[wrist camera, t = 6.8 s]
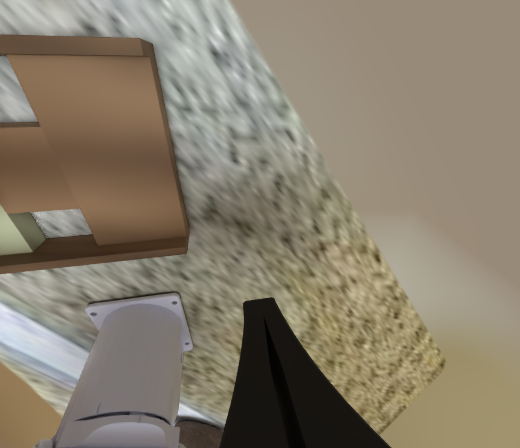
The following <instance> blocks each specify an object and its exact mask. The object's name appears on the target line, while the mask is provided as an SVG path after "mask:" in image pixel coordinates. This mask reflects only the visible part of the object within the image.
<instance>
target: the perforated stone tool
mask: <svg viewBox="0 0 520 448" xmlns="http://www.w3.org/2000/svg"><path fill="white" fill-rule="evenodd" d="M175 427H179V428H180V433H179V443H181V444H183V445H184V446H185V447H186V448H219V446H220V442H221V439H222V435H223V432H222V431H220V430H219V429H217V428H215V427H212V426H209V425H206V424H203V423H199V422H195V421H181V422H178V423H177V424H176V425H175Z"/></svg>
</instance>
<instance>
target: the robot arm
mask: <svg viewBox="0 0 520 448" xmlns="http://www.w3.org/2000/svg"><path fill="white" fill-rule="evenodd" d="M243 310H244V330H243V339H242V348H241V355H240V361H239V366H238V372H237V377H236V382H235V387H234V391H233V396H232V400H231V404H230V408H229V412H228V416H227V420H226V424H225V428H224V432H223V435H222V439H221V442H220V446H219V448H391V447H390V446H389V445H388V444H387V443H386V442H385V441H384V440H383V439H382V438H381V437H380V436H379V435H378V434H377V433H376V432H375V431H374V430H373V429H372V428H371V427H370V426H369V425H368V424H367V423H366V422H365V420H364V419H363V418H362V417H361V416H360V415H359V414H358V413H357V412H356V411H355V410H354V409H353V408H352V407H351V406H350V405H349V404H348V402H347V401H346V400H345V399H344V398H343V397H342V396H341V394H340V393H339V392H338V391H337V390H336V389H335V388H334V386H333V385H332V384H331V383H330V382H329V380H328V379H327V378H326V377H325V376H324V374H323V373H322V372H321V370H320V369H319V368H318V367H317V365H316V364H315V363H314V361H313V360H312V359H311V357H310V356H309V355H308V353H307V352H306V350H305V349H304V348H303V346H302V345H301V343H300V342H299V340H298V339H297V337H296V336H295V334H294V333H293V331H292V330H291V328H290V326H289V325H288V323H287V322H286V320H285V318H284V316H283V315H282V313H281V311H280V309H279V307H278V305H277V303H276V301H275V299H274V298H272V297H271V298H264V299H257V300H250V301H245V302H244V303H243ZM85 311H86V313H87V314H88V316H89V317H90V319H91V320H92V322H93V324H94V325H95V327H96V328H97V330H98V331H99V333H98V335H97V337H96V340H95V342H94V345H93V347H92V349H91V352H90V354H89V356H88V359H87V361H86V364H85V366H84V368H83V371H82V373H81V375H80V378H79V380H78V382H77V385H76V387H75V390H74V392H73V394H72V397H71V399H70V401H69V404H68V406H67V409H66V411H65V413H64V416H63V418H62V420H61V423H60V425H59V427H58V430H57V432H56V434H55V435H54V436H53V438H52V439H51V440H41V441H39V442H38V443H37V444H36V445H35V446H34V447H32V448H186V447H185V446H184V445H183V444H181V443H179V433H180V428H179V427H175V426H173V424H174V422H175V419H176V417H177V413H178V409H179V400H180V389H181V378H182V367H183V356H184V352H185V351H190V350H192V349H193V343H192V339H191V336H190V332H189V328H188V325H187V321H186V318H185V314H184V310H183V307H182V303H181V300H180V296H179V294H177V293H169V294H162V295H154V296H146V297H139V298H131V299H124V300H116V301H109V302H101V303H94V304H89V305H87V307H86V309H85Z"/></svg>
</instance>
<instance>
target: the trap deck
mask: <svg viewBox="0 0 520 448" xmlns="http://www.w3.org/2000/svg"><path fill="white" fill-rule="evenodd" d="M0 56H7V58H8V60H9V62H10V64H11V66H12V68H13V70H14V72H15V74H16V76H17V78H18V81H19V83H20V85H21V87H22V89H23V91H24V93H25V95H26V97H27V99H28V101H29V103H30V105H31V108H32V110H33V112H34V114H35V116H36V118H37V120H38V122H17V123H0V274H7V273H16V272H25V271H34V270H43V269H52V268H62V267H71V266H80V265H89V264H98V263H107V262H117V261H126V260H135V259H144V258H153V257H162V256H172V255H181V254H187V249H188V240H189V227H188V222H187V217H186V212H185V207H184V201H183V196H182V191H181V186H180V181H179V176H178V171H177V166H176V161H175V156H174V151H173V146H172V141H171V136H170V130H169V125H168V120H167V115H166V110H165V105H164V100H163V95H162V90H161V85H160V80H159V75H158V70H157V64H156V59H155V54H154V49H153V44H151V43H149V42H147V41H145V40H142V39H140V38H111V37H74V36H36V35H0ZM78 208H80V209H81V211H82V213H83V215H84V218H85V220H86V222H87V224H88V226H89V228H90V230H91V232H92V234H93V235H83V236H72V237H61V238H50V239H46V238H45V236H44V235H43V233H42V232H41V230H40V228H39V227H38V225H37V224H36V222H35V220H34V219H33V217H32V216H31V214H30V212H38V211H52V210H65V209H78Z"/></svg>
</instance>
